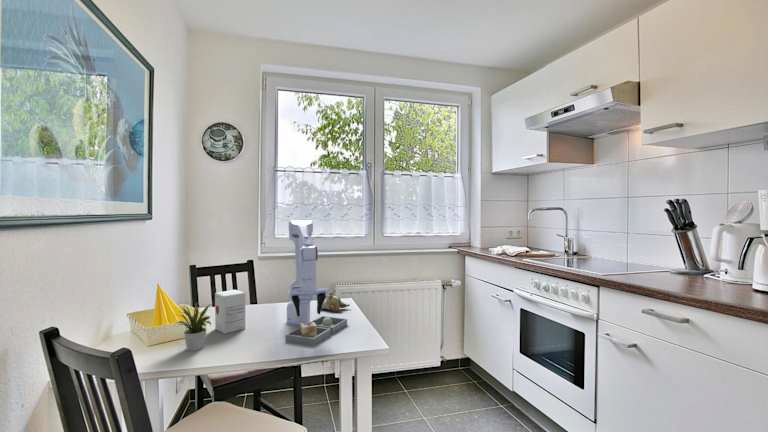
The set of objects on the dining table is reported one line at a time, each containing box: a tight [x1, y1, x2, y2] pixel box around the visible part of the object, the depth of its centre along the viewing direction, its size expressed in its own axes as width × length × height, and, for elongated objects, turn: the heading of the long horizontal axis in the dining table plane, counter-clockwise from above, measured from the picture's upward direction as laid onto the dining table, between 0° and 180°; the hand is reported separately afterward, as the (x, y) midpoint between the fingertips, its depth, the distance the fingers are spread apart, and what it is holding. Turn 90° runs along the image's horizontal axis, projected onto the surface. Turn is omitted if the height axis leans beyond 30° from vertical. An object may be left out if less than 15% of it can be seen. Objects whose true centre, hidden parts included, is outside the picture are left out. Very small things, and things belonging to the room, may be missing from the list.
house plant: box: [175, 300, 212, 352], centre depth 129 cm, size 14×14×16 cm
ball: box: [322, 316, 332, 327], centre depth 151 cm, size 4×4×4 cm
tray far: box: [309, 315, 348, 335], centre depth 151 cm, size 12×12×3 cm
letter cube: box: [300, 322, 317, 338], centre depth 139 cm, size 5×5×5 cm
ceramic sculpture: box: [321, 292, 351, 313], centre depth 179 cm, size 11×9×15 cm
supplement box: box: [214, 289, 246, 334], centre depth 151 cm, size 9×9×15 cm
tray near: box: [284, 326, 332, 347], centre depth 139 cm, size 12×12×3 cm
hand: (308, 314), depth 139 cm, fingers open, 7 cm apart
